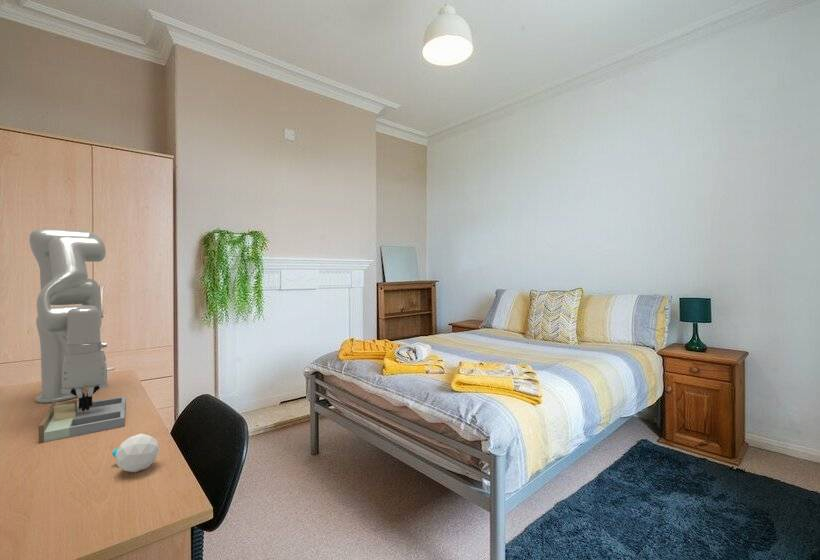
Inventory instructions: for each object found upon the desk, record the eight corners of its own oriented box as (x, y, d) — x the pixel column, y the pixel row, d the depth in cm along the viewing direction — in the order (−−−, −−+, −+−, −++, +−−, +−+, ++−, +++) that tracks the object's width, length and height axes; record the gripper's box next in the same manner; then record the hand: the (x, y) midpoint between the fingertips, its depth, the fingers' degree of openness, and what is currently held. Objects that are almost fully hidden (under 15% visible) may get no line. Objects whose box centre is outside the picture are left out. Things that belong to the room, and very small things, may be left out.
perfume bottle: (126, 468, 79) (86, 467, 83) (158, 475, 86) (120, 473, 89) (144, 430, 84) (105, 430, 87) (173, 438, 90) (136, 438, 94)
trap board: (53, 415, 118) (53, 401, 117) (125, 403, 128) (125, 390, 128) (38, 442, 99) (38, 426, 99) (124, 426, 110) (124, 410, 110)
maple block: (56, 416, 111) (56, 402, 111) (77, 412, 113) (76, 399, 113) (54, 421, 107) (54, 407, 107) (75, 417, 110) (75, 403, 110)
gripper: (116, 343, 120) (117, 400, 121) (52, 349, 111) (53, 411, 112) (115, 347, 114) (116, 407, 115) (47, 354, 105) (49, 419, 106)
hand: (85, 409), depth 113 cm, fingers closed
